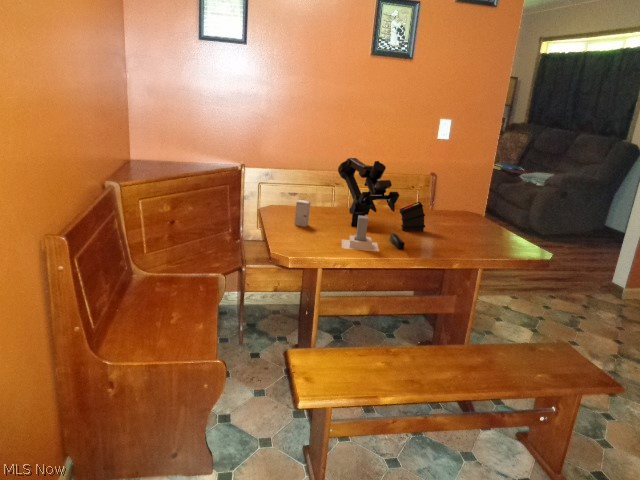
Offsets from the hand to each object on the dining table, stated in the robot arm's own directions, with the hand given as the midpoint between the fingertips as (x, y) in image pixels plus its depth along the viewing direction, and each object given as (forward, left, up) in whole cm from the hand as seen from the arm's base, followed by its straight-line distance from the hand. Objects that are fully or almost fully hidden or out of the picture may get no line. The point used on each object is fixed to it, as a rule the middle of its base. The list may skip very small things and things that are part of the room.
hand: (385, 211), depth 209 cm
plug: (-10, -10, -14) cm, 20 cm away
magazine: (+17, +24, -15) cm, 33 cm away
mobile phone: (+6, -4, -15) cm, 17 cm away
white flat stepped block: (-10, -10, -15) cm, 21 cm away
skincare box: (-38, +16, -15) cm, 44 cm away
